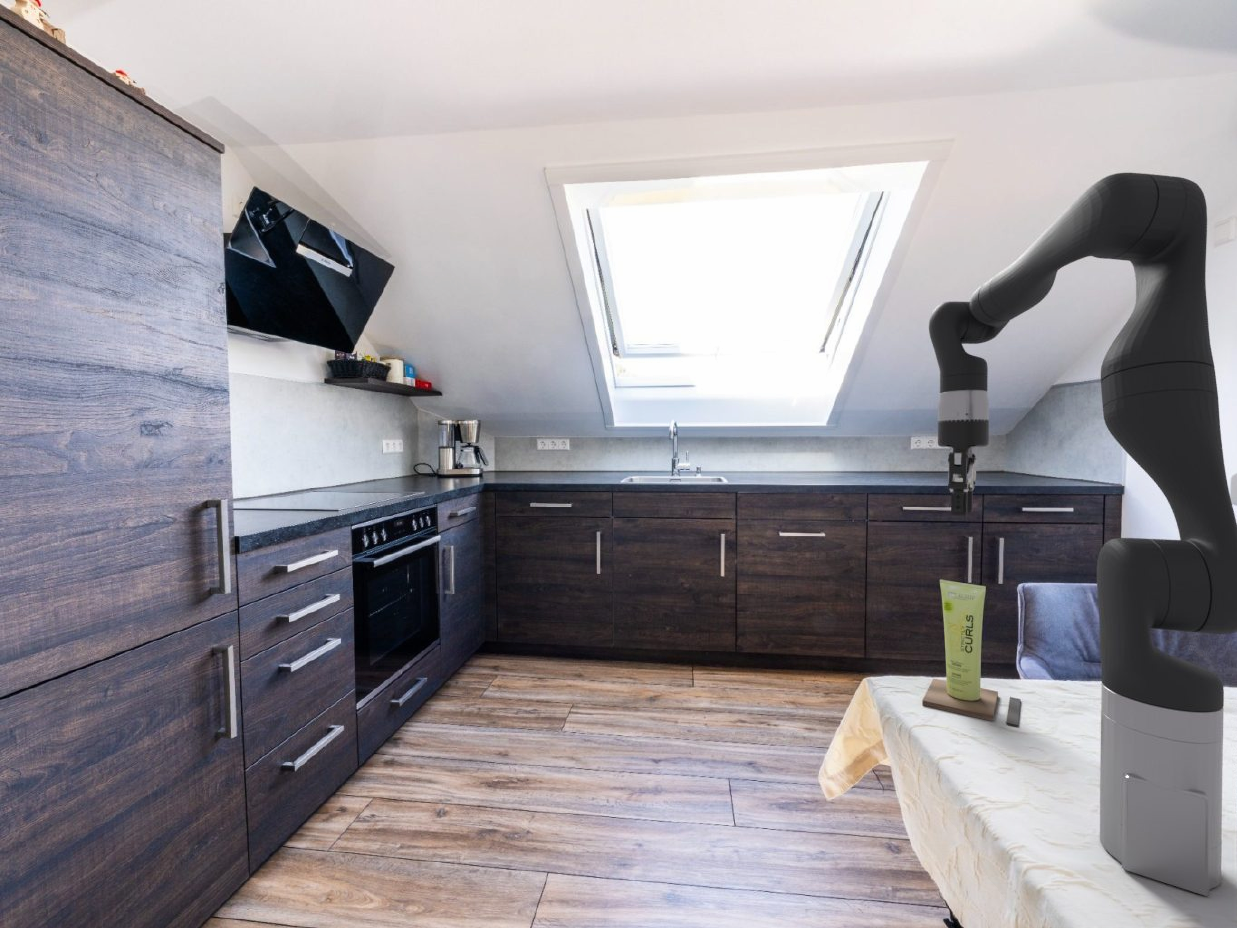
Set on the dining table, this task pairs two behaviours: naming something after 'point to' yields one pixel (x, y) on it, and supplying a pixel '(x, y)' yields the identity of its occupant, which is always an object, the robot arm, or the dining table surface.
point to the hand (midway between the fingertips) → (962, 513)
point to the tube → (963, 637)
